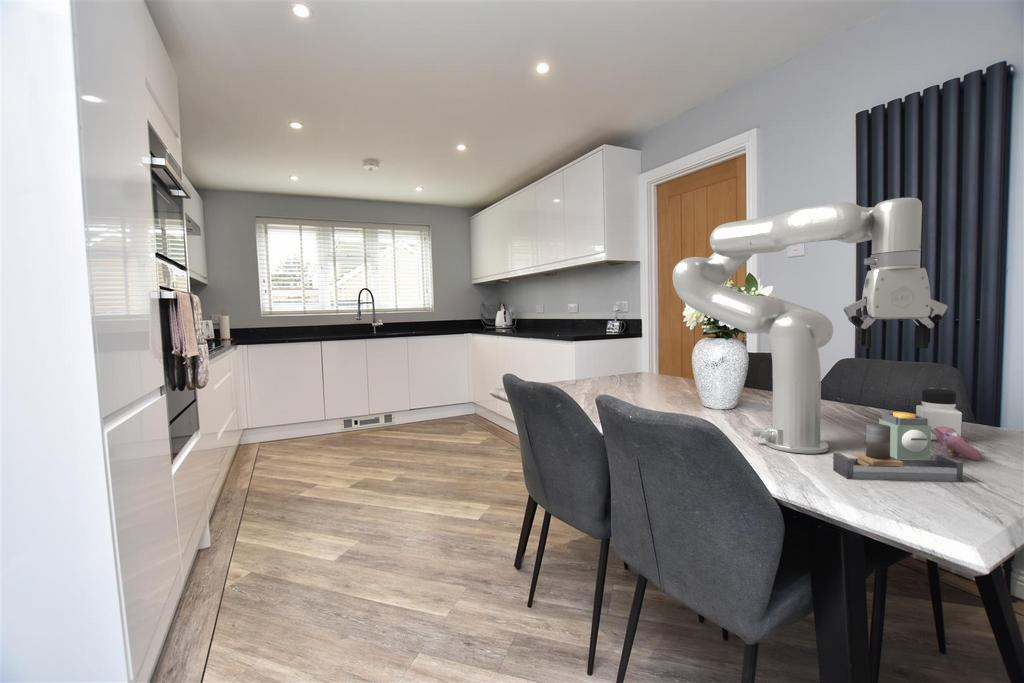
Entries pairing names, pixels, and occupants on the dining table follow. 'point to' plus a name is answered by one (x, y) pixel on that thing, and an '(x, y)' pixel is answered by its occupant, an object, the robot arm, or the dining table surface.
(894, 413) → the button
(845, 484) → the dining table surface
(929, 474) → the track
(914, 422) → the gauge cabinet
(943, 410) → the medicine bottle
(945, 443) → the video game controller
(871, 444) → the carriage
